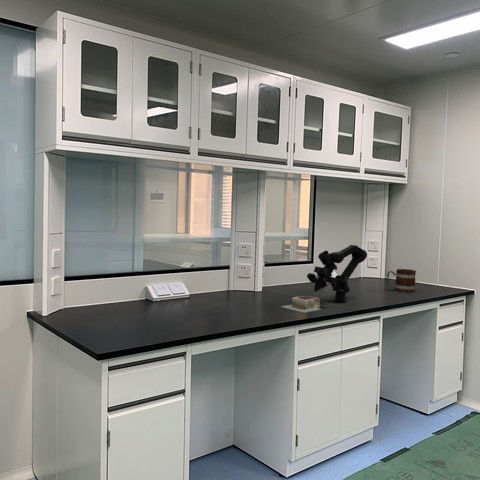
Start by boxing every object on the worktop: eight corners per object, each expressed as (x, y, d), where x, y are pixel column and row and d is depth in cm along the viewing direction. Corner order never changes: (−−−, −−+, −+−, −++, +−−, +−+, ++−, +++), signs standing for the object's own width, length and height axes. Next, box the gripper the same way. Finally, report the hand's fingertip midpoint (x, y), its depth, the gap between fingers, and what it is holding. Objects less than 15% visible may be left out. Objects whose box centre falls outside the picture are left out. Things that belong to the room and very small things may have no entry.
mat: (299, 304, 274) (299, 303, 274) (321, 309, 262) (321, 308, 262) (281, 307, 264) (281, 306, 264) (303, 312, 252) (303, 312, 252)
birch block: (306, 295, 272) (292, 297, 264) (319, 298, 265) (306, 300, 257) (305, 304, 273) (291, 306, 265) (319, 307, 265) (305, 309, 257)
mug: (412, 290, 339) (413, 269, 338) (417, 293, 326) (418, 272, 325) (384, 288, 341) (385, 268, 340) (388, 292, 328) (389, 270, 327)
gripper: (309, 259, 278) (296, 279, 272) (335, 263, 265) (321, 284, 258) (317, 271, 284) (304, 291, 278) (343, 275, 270) (330, 297, 264)
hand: (314, 291), depth 269 cm, fingers closed
